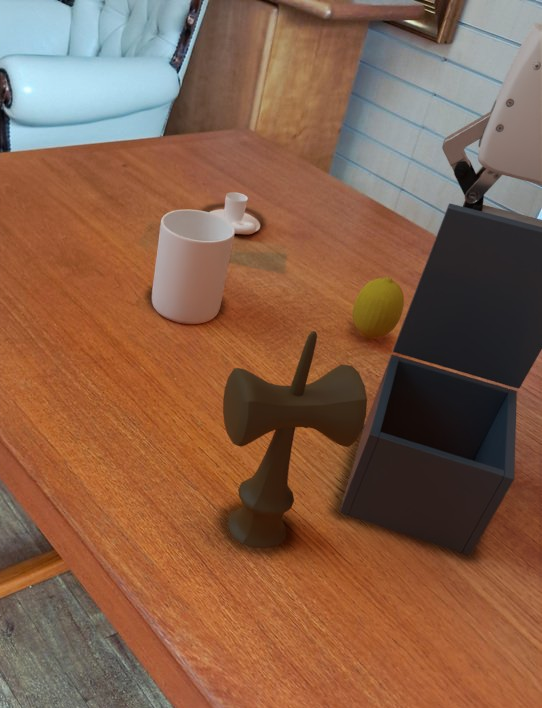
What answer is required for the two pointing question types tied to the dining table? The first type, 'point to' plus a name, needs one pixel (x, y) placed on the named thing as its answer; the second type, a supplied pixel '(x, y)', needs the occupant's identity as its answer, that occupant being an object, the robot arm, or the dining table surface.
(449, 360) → the lid
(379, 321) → the lemon
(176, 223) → the mug
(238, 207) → the teacup and saucer
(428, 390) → the chest
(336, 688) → the dining table surface
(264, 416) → the kendama
